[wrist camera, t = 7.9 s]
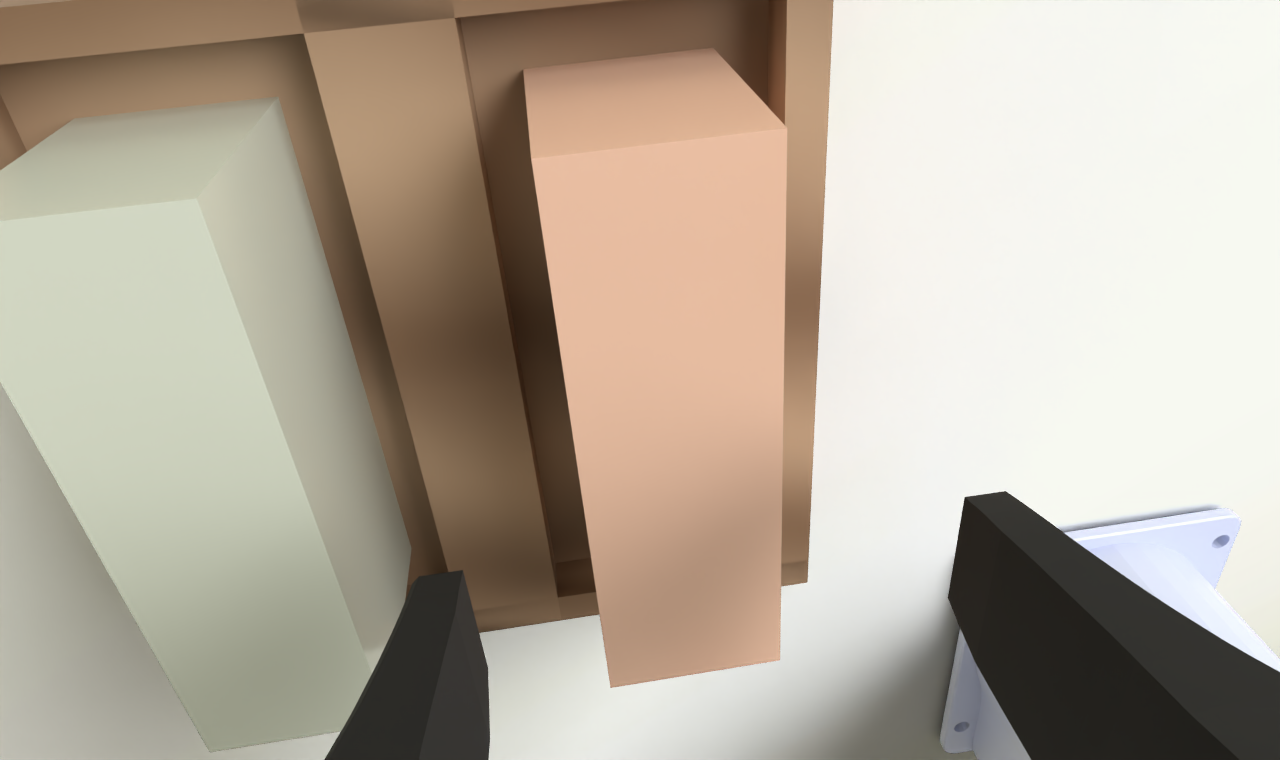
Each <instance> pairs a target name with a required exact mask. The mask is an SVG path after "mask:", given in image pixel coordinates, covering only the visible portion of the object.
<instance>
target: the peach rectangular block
mask: <svg viewBox="0 0 1280 760" xmlns="http://www.w3.org/2000/svg"><path fill="white" fill-rule="evenodd" d="M523 73H524V84H525V95H526V106H527V117H528V128H529V139H530V151H531V161H532V167H533V174H534V181H535V187H536V194H537V201H538V207H539V214H540V220H541V227H542V234H543V240H544V247H545V254H546V260H547V267H548V274H549V280H550V287H551V294H552V300H553V307H554V314H555V320H556V327H557V334H558V340H559V347H560V354H561V360H562V367H563V374H564V380H565V387H566V394H567V400H568V407H569V414H570V420H571V427H572V434H573V440H574V447H575V454H576V460H577V467H578V474H579V480H580V487H581V494H582V500H583V507H584V514H585V520H586V527H587V533H588V540H589V547H590V553H591V560H592V567H593V573H594V580H595V587H596V593H597V600H598V607H599V613H600V620H601V627H602V633H603V640H604V647H605V653H606V660H607V667H608V673H609V680H610V687H611V688H612V687H619V686H625V685H631V684H637V683H643V682H649V681H655V680H661V679H667V678H674V677H680V676H686V675H692V674H698V673H704V672H710V671H716V670H723V669H729V668H735V667H741V666H747V665H753V664H759V663H765V662H771V661H778V660H780V618H781V546H782V475H783V404H784V333H785V261H786V190H787V127H786V126H785V125H784V124H783V123H782V122H781V120H780V119H779V118H778V117H777V116H776V115H775V114H774V113H773V112H772V111H771V110H770V109H769V108H768V106H767V105H766V104H765V103H764V102H763V101H762V100H761V99H760V98H759V97H758V96H757V95H756V94H755V92H754V91H753V90H752V89H751V88H750V87H749V86H748V85H747V84H746V83H745V82H744V81H743V80H742V78H741V77H740V76H739V75H738V74H737V73H736V72H735V71H734V70H733V69H732V68H731V67H730V65H729V64H728V63H727V62H726V61H725V60H724V59H723V58H722V57H721V56H720V55H719V54H718V53H717V51H716V50H715V49H714V48H707V49H698V50H689V51H680V52H671V53H663V54H654V55H645V56H636V57H627V58H619V59H610V60H601V61H592V62H583V63H575V64H566V65H557V66H548V67H539V68H531V69H523Z"/></svg>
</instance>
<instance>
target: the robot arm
mask: <svg viewBox="0 0 1280 760" xmlns="http://www.w3.org/2000/svg"><path fill="white" fill-rule="evenodd" d="M1240 526H1241V519H1240V517H1239V516H1238V515H1237V514H1236V513H1234V512H1233V511H1232V510H1230V509H1228V508H1221V509H1215V510H1208V511H1201V512H1195V513H1188V514H1182V515H1175V516H1169V517H1162V518H1156V519H1149V520H1143V521H1136V522H1130V523H1123V524H1116V525H1110V526H1103V527H1097V528H1090V529H1084V530H1077V531H1071V532H1064V533H1063V532H1062V531H1061V530H1059V529H1058V528H1056V527H1055V526H1054V525H1052V524H1051V523H1050V522H1048V521H1047V520H1045V519H1044V518H1043V517H1041V516H1040V515H1039V514H1037V513H1036V512H1034V511H1033V510H1032V509H1030V508H1029V507H1027V506H1026V505H1025V504H1023V503H1022V502H1020V501H1019V500H1018V499H1016V498H1015V497H1013V496H1012V495H1010V494H1009V493H1007V492H1006V491H1004V492H998V493H991V494H984V495H977V496H970V497H965V499H964V505H963V511H962V517H961V523H960V529H959V535H958V541H957V547H956V553H955V559H954V565H953V571H952V577H951V583H950V589H949V595H948V599H949V601H950V604H951V606H952V609H953V611H954V614H955V616H956V619H957V621H958V624H959V626H960V632H959V637H958V642H957V648H956V653H955V658H954V664H953V669H952V674H951V680H950V685H949V690H948V696H947V701H946V707H945V712H944V717H943V723H942V728H941V733H940V743H941V745H942V747H943V749H944V750H945V751H946V752H948V753H961V752H966V751H972V750H973V752H974V754H975V755H976V757H977V759H978V760H1280V659H1279V658H1278V657H1277V655H1276V654H1275V653H1274V652H1273V651H1272V650H1271V649H1270V648H1269V647H1268V646H1267V645H1266V644H1265V643H1264V641H1263V640H1262V639H1261V638H1260V637H1259V636H1258V635H1257V634H1256V633H1255V632H1254V631H1253V630H1252V629H1251V627H1250V626H1249V625H1248V624H1247V623H1246V622H1245V621H1244V620H1243V619H1242V618H1241V617H1240V616H1239V615H1238V613H1237V612H1236V611H1235V610H1234V609H1233V608H1232V607H1231V606H1230V605H1229V604H1228V603H1227V602H1226V600H1225V599H1224V598H1223V597H1222V596H1221V595H1220V594H1219V593H1218V592H1217V591H1216V590H1215V588H1216V585H1217V583H1218V580H1219V578H1220V575H1221V573H1222V570H1223V568H1224V566H1225V563H1226V561H1227V558H1228V556H1229V553H1230V551H1231V548H1232V546H1233V543H1234V541H1235V538H1236V536H1237V534H1238V531H1239V529H1240ZM489 743H490V725H489V688H488V667H487V663H486V659H485V655H484V651H483V647H482V643H481V639H480V635H479V631H478V627H477V624H476V620H475V616H474V612H473V608H472V604H471V600H470V596H469V592H468V588H467V584H466V580H465V576H464V572H463V570H460V571H453V572H446V573H439V574H432V575H425V576H419V577H418V578H417V579H416V580H415V581H414V582H413V583H412V586H411V588H410V591H409V593H408V596H407V598H406V601H405V603H404V606H403V608H402V610H401V613H400V615H399V617H398V620H397V622H396V624H395V626H394V629H393V631H392V633H391V635H390V637H389V640H388V642H387V644H386V646H385V648H384V650H383V652H382V654H381V656H380V659H379V661H378V663H377V665H376V667H375V669H374V671H373V672H372V674H371V676H370V678H369V680H368V682H367V684H366V686H365V688H364V690H363V692H362V694H361V696H360V698H359V700H358V702H357V704H356V705H355V707H354V709H353V711H352V713H351V715H350V717H349V718H348V720H347V722H346V724H345V726H344V727H343V729H342V731H341V732H340V734H339V736H338V738H337V739H336V741H335V743H334V744H333V746H332V748H331V750H330V751H329V753H328V755H327V756H326V758H325V760H488V757H489Z"/></svg>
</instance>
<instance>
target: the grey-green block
mask: <svg viewBox="0 0 1280 760" xmlns="http://www.w3.org/2000/svg"><path fill="white" fill-rule="evenodd" d="M0 383H1V385H2V386H3V388H4V390H5V392H6V394H7V395H8V397H9V399H10V401H11V402H12V404H13V406H14V408H15V409H16V411H17V413H18V415H19V416H20V418H21V420H22V422H23V424H24V425H25V427H26V429H27V431H28V432H29V434H30V436H31V438H32V439H33V441H34V443H35V445H36V447H37V448H38V450H39V452H40V454H41V455H42V457H43V459H44V461H45V462H46V464H47V466H48V468H49V469H50V471H51V473H52V475H53V477H54V478H55V480H56V482H57V484H58V485H59V487H60V489H61V491H62V492H63V494H64V496H65V498H66V499H67V501H68V503H69V505H70V507H71V508H72V510H73V512H74V514H75V515H76V517H77V519H78V521H79V522H80V524H81V526H82V528H83V530H84V531H85V533H86V535H87V537H88V538H89V540H90V542H91V544H92V545H93V547H94V549H95V551H96V552H97V554H98V556H99V558H100V560H101V561H102V563H103V565H104V567H105V568H106V570H107V572H108V574H109V575H110V577H111V579H112V581H113V582H114V584H115V586H116V588H117V590H118V591H119V593H120V595H121V597H122V598H123V600H124V602H125V604H126V605H127V607H128V609H129V611H130V612H131V614H132V616H133V618H134V620H135V621H136V623H137V625H138V627H139V628H140V630H141V632H142V634H143V635H144V637H145V639H146V641H147V643H148V644H149V646H150V648H151V650H152V651H153V653H154V655H155V657H156V658H157V660H158V662H159V664H160V665H161V667H162V669H163V671H164V673H165V674H166V676H167V678H168V680H169V681H170V683H171V685H172V687H173V688H174V690H175V692H176V694H177V695H178V697H179V699H180V701H181V703H182V704H183V706H184V708H185V710H186V711H187V713H188V715H189V717H190V718H191V720H192V722H193V724H194V726H195V727H196V729H197V731H198V733H199V734H200V736H201V738H202V740H203V741H204V743H205V745H206V747H207V748H208V750H209V752H215V751H221V750H227V749H234V748H240V747H246V746H253V745H259V744H265V743H271V742H278V741H284V740H290V739H296V738H303V737H309V736H315V735H321V734H328V733H334V732H340V731H342V729H343V727H344V726H345V724H346V722H347V720H348V718H349V717H350V715H351V713H352V711H353V709H354V707H355V705H356V704H357V702H358V700H359V698H360V696H361V694H362V692H363V690H364V688H365V686H366V684H367V682H368V680H369V678H370V676H371V674H372V672H373V671H374V669H375V667H376V665H377V663H378V661H379V659H380V656H381V654H382V652H383V650H384V648H385V646H386V644H387V642H388V640H389V637H390V635H391V633H392V631H393V629H394V626H395V624H396V622H397V620H398V617H399V615H400V613H401V610H402V608H403V606H404V603H405V598H406V590H407V582H408V573H409V565H410V557H411V549H412V548H411V545H410V541H409V538H408V535H407V531H406V528H405V524H404V521H403V518H402V514H401V511H400V508H399V504H398V501H397V497H396V494H395V491H394V487H393V484H392V480H391V477H390V474H389V470H388V467H387V463H386V460H385V457H384V453H383V450H382V447H381V443H380V440H379V436H378V433H377V430H376V426H375V423H374V419H373V416H372V413H371V409H370V406H369V402H368V399H367V396H366V392H365V389H364V385H363V382H362V379H361V375H360V372H359V369H358V365H357V362H356V358H355V355H354V352H353V348H352V345H351V341H350V338H349V335H348V331H347V328H346V324H345V321H344V318H343V314H342V311H341V308H340V304H339V301H338V297H337V294H336V291H335V287H334V284H333V280H332V277H331V274H330V270H329V267H328V263H327V260H326V257H325V253H324V250H323V247H322V243H321V240H320V236H319V233H318V230H317V226H316V223H315V219H314V216H313V213H312V209H311V206H310V202H309V199H308V196H307V192H306V189H305V186H304V182H303V179H302V175H301V172H300V169H299V165H298V162H297V158H296V155H295V152H294V148H293V145H292V141H291V138H290V135H289V131H288V128H287V124H286V121H285V118H284V114H283V111H282V108H281V104H280V101H279V97H269V98H260V99H251V100H241V101H232V102H223V103H213V104H204V105H195V106H186V107H176V108H167V109H158V110H149V111H139V112H130V113H121V114H112V115H102V116H93V117H84V118H75V119H73V120H71V121H70V122H69V123H67V124H66V125H64V126H63V127H62V128H60V129H59V130H57V131H56V132H54V133H53V134H52V135H50V136H49V137H47V138H46V139H44V140H43V141H42V142H40V143H39V144H37V145H36V146H34V147H33V148H32V149H30V150H29V151H27V152H26V153H25V154H23V155H22V156H20V157H19V158H17V159H16V160H15V161H13V162H12V163H10V164H9V165H7V166H6V167H5V168H3V169H2V170H0Z"/></svg>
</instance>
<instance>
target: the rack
mask: <svg viewBox="0 0 1280 760" xmlns="http://www.w3.org/2000/svg"><path fill="white" fill-rule="evenodd" d="M832 19H833V0H0V170H2V169H3V168H5V167H6V166H7V165H9V164H10V163H12V162H13V161H15V160H16V159H17V158H19V157H20V156H22V155H23V154H25V153H26V152H27V151H29V150H30V149H32V148H33V147H34V146H36V145H37V144H39V143H40V142H42V141H43V140H44V139H46V138H47V137H49V136H50V135H52V134H53V133H54V132H56V131H57V130H59V129H60V128H62V127H63V126H64V125H66V124H67V123H69V122H70V121H71V120H73V119H75V118H84V117H93V116H102V115H112V114H121V113H130V112H139V111H149V110H158V109H167V108H176V107H186V106H195V105H204V104H213V103H223V102H232V101H241V100H251V99H260V98H269V97H279V101H280V104H281V108H282V111H283V114H284V118H285V121H286V124H287V128H288V131H289V135H290V138H291V141H292V145H293V148H294V152H295V155H296V158H297V162H298V165H299V169H300V172H301V175H302V179H303V182H304V186H305V189H306V192H307V196H308V199H309V202H310V206H311V209H312V213H313V216H314V219H315V223H316V226H317V230H318V233H319V236H320V240H321V243H322V247H323V250H324V253H325V257H326V260H327V263H328V267H329V270H330V274H331V277H332V280H333V284H334V287H335V291H336V294H337V297H338V301H339V304H340V308H341V311H342V314H343V318H344V321H345V324H346V328H347V331H348V335H349V338H350V341H351V345H352V348H353V352H354V355H355V358H356V362H357V365H358V369H359V372H360V375H361V379H362V382H363V385H364V389H365V392H366V396H367V399H368V402H369V406H370V409H371V413H372V416H373V419H374V423H375V426H376V430H377V433H378V436H379V440H380V443H381V447H382V450H383V453H384V457H385V460H386V463H387V467H388V470H389V474H390V477H391V480H392V484H393V487H394V491H395V494H396V497H397V501H398V504H399V508H400V511H401V514H402V518H403V521H404V524H405V528H406V531H407V535H408V538H409V541H410V545H411V548H412V549H411V557H410V565H409V573H408V582H407V590H406V598H407V596H408V593H409V591H410V588H411V586H412V583H413V582H414V581H415V580H416V579H417V578H418V577H419V576H425V575H432V574H439V573H446V572H453V571H460V570H463V572H464V576H465V580H466V584H467V588H468V592H469V596H470V600H471V604H472V608H473V612H474V616H475V620H476V624H477V627H478V631H479V633H481V632H488V631H494V630H501V629H507V628H514V627H520V626H527V625H533V624H540V623H546V622H553V621H559V620H566V619H572V618H579V617H585V616H592V615H598V614H600V613H599V607H598V600H597V593H596V587H595V580H594V573H593V567H592V560H591V553H590V547H589V540H588V533H587V527H586V520H585V514H584V507H583V500H582V494H581V487H580V480H579V474H578V467H577V460H576V454H575V447H574V440H573V434H572V427H571V420H570V414H569V407H568V400H567V394H566V387H565V380H564V374H563V367H562V360H561V354H560V347H559V340H558V334H557V327H556V320H555V314H554V307H553V300H552V294H551V287H550V280H549V274H548V267H547V260H546V254H545V247H544V240H543V234H542V227H541V220H540V214H539V207H538V201H537V194H536V187H535V181H534V174H533V167H532V161H531V151H530V139H529V128H528V117H527V106H526V95H525V84H524V73H523V69H531V68H539V67H548V66H557V65H566V64H575V63H583V62H592V61H601V60H610V59H619V58H627V57H636V56H645V55H654V54H663V53H671V52H680V51H689V50H698V49H707V48H714V49H715V50H716V51H717V53H718V54H719V55H720V56H721V57H722V58H723V59H724V60H725V61H726V62H727V63H728V64H729V65H730V67H731V68H732V69H733V70H734V71H735V72H736V73H737V74H738V75H739V76H740V77H741V78H742V80H743V81H744V82H745V83H746V84H747V85H748V86H749V87H750V88H751V89H752V90H753V91H754V92H755V94H756V95H757V96H758V97H759V98H760V99H761V100H762V101H763V102H764V103H765V104H766V105H767V106H768V108H769V109H770V110H771V111H772V112H773V113H774V114H775V115H776V116H777V117H778V118H779V119H780V120H781V122H782V123H783V124H784V125H785V126H786V127H787V190H786V261H785V333H784V404H783V475H782V546H781V586H787V585H793V584H800V583H806V582H807V579H808V557H809V534H810V512H811V489H812V467H813V445H814V422H815V400H816V377H817V355H818V332H819V310H820V288H821V265H822V243H823V220H824V198H825V176H826V153H827V131H828V108H829V86H830V64H831V41H832ZM406 598H405V601H406Z"/></svg>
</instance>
